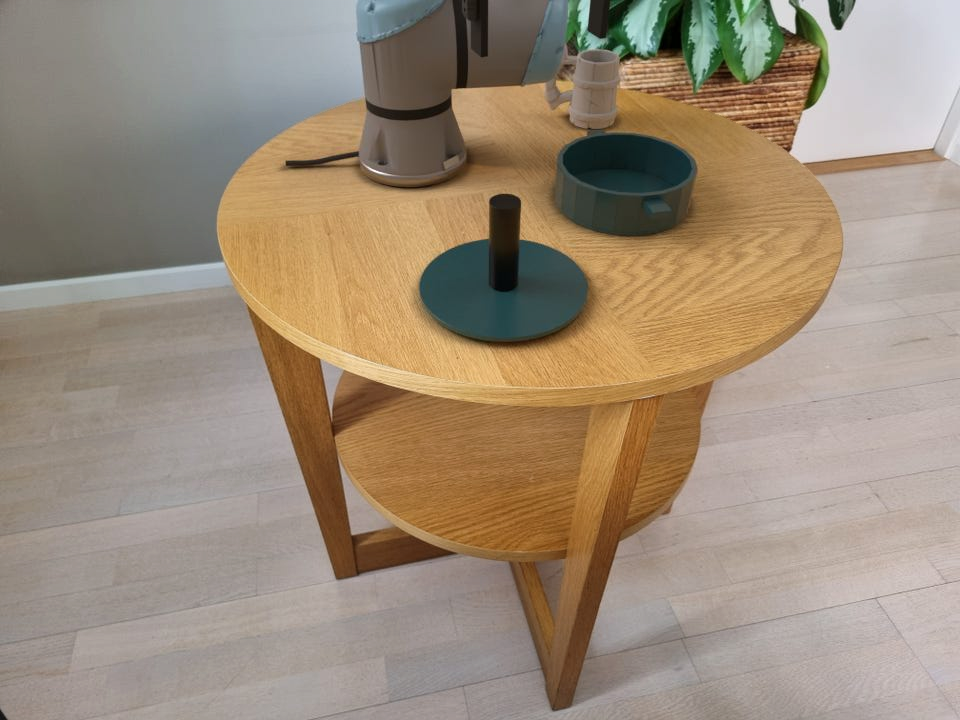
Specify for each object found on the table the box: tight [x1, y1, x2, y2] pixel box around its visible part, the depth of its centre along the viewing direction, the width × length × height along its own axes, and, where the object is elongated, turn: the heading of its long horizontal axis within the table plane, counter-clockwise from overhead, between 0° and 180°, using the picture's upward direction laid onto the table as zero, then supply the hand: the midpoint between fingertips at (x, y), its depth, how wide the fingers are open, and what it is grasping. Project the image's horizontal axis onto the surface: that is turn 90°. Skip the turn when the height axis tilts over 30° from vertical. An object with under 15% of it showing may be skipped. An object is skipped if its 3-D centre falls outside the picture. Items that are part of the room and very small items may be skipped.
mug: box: [544, 42, 621, 130], centre depth 107 cm, size 8×12×12 cm, turn 77°
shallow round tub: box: [554, 128, 699, 237], centre depth 90 cm, size 17×23×6 cm
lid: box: [418, 193, 589, 343], centre depth 73 cm, size 18×18×11 cm
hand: (539, 43), depth 73 cm, fingers open, 13 cm apart
